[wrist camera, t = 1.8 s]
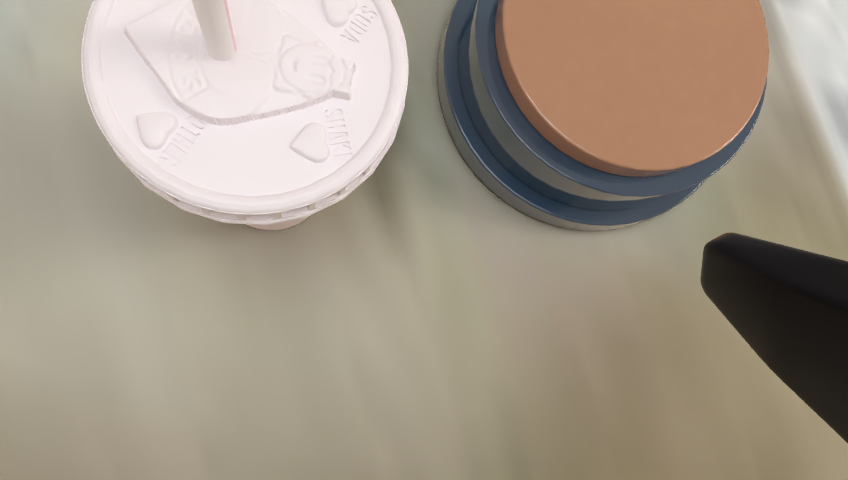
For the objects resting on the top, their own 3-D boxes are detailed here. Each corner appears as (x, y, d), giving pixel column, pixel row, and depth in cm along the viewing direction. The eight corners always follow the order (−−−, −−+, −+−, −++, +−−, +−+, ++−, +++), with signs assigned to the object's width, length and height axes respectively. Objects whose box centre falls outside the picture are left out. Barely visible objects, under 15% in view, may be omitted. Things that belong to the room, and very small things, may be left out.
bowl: (764, 61, 27) (854, 7, 22) (628, 291, 24) (700, 279, 20) (538, -108, 26) (586, -198, 22) (376, 110, 24) (393, 58, 19)
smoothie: (194, 65, 23) (38, -346, 9) (381, 106, 24) (490, -214, 10) (151, 252, 22) (-99, 95, 8) (350, 286, 23) (424, 198, 9)
